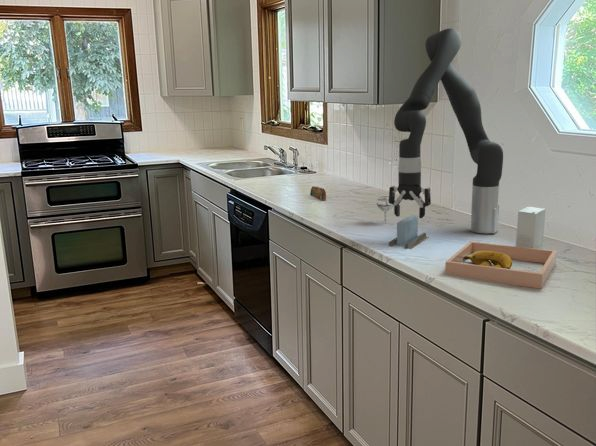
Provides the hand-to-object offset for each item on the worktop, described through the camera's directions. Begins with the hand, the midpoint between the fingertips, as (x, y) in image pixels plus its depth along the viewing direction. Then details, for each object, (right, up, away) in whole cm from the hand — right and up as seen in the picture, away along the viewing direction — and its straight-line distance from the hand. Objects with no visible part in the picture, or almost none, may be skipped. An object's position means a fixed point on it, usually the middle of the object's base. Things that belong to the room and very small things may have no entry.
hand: (409, 217), depth 197 cm
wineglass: (-4, -4, +28) cm, 28 cm away
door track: (0, -10, +2) cm, 10 cm away
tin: (-29, +7, +80) cm, 86 cm away
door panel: (0, -9, +2) cm, 9 cm away
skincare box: (+36, -12, -13) cm, 40 cm away
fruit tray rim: (+22, -16, -28) cm, 39 cm away
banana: (+16, -17, -29) cm, 37 cm away
